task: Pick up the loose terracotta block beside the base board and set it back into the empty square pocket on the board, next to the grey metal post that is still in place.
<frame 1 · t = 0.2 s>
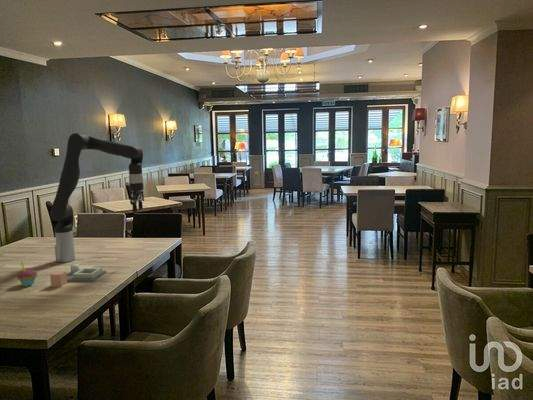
hand: (137, 210, 226), 29 cm above the table, tool pointing down, fingers open, 8 cm apart
cupcake: (28, 284, 192), on the table
block: (59, 285, 190), on the table
base board: (82, 277, 201), on the table
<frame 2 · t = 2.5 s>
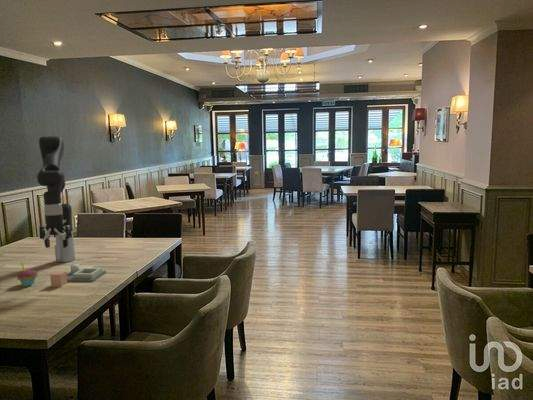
hand: (56, 247, 188), 18 cm above the table, tool pointing down, fingers open, 8 cm apart
nothing on the table moved.
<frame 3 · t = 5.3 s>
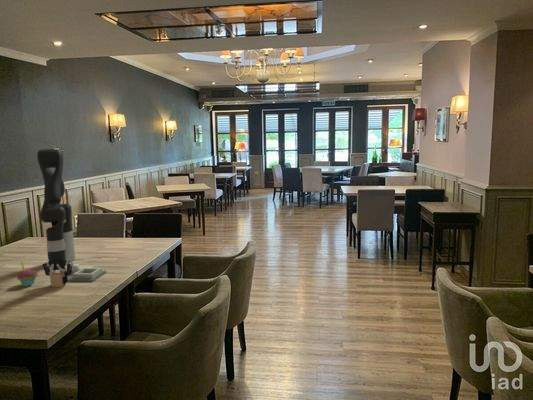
hand: (59, 283, 190), 1 cm above the table, tool pointing down, fingers closed on block, 5 cm apart
block: (59, 284, 190), on the table, touching gripper
everything else where it was.
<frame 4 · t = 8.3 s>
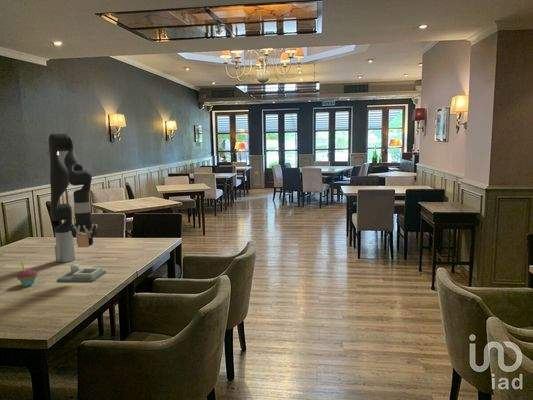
hand: (85, 244, 199), 17 cm above the table, tool pointing down, fingers closed on block, 5 cm apart
block: (85, 246, 199), point 16 cm above the table, touching gripper
everything else where it was.
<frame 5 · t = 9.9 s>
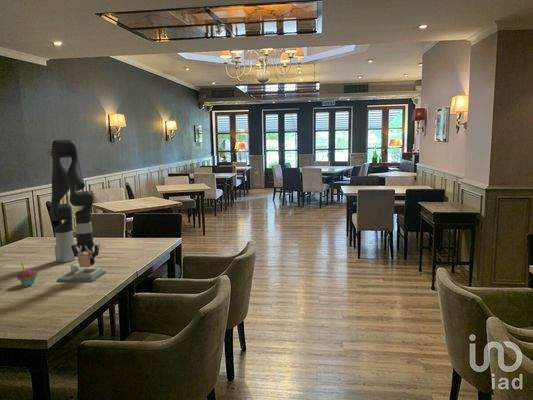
hand: (87, 264, 200), 7 cm above the table, tool pointing down, fingers closed on block, 5 cm apart
block: (87, 265, 200), point 6 cm above the table, touching gripper
everything else where it was.
when the fingers open (4 cm above the table, at t = 11.4 s): block drops 2 cm, resting on base board.
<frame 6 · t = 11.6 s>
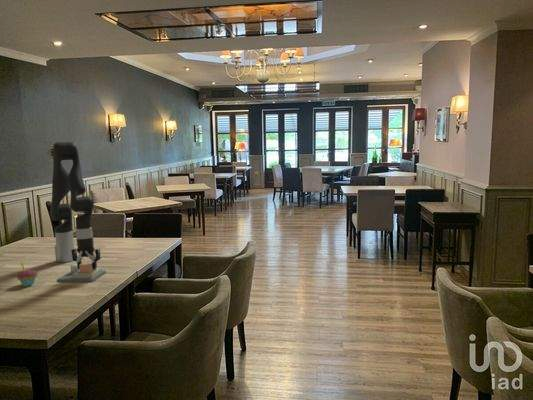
hand: (87, 269, 201), 4 cm above the table, tool pointing down, fingers open, 6 cm apart
block: (87, 274, 201), point 1 cm above the table, touching base board
everything else where it was.
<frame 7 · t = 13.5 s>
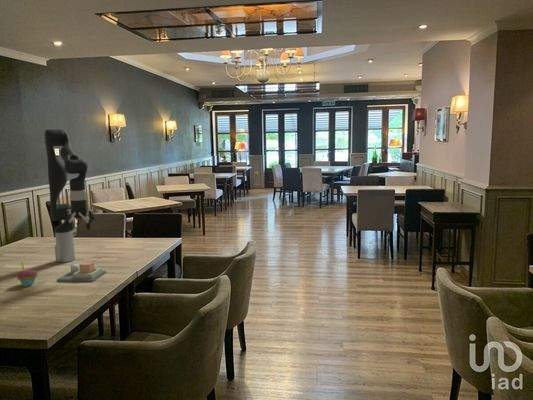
hand: (80, 229, 207), 23 cm above the table, tool pointing down, fingers open, 8 cm apart
nothing on the table moved.
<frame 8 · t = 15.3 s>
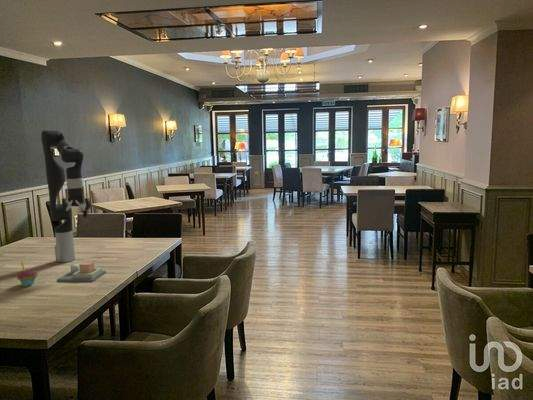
hand: (77, 217, 212), 28 cm above the table, tool pointing down, fingers open, 8 cm apart
nothing on the table moved.
at the end: block 0.1 cm from the target spot on the base board, point 1.2 cm above the base board's base; block tilted 0°; the gripper is holding nothing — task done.
